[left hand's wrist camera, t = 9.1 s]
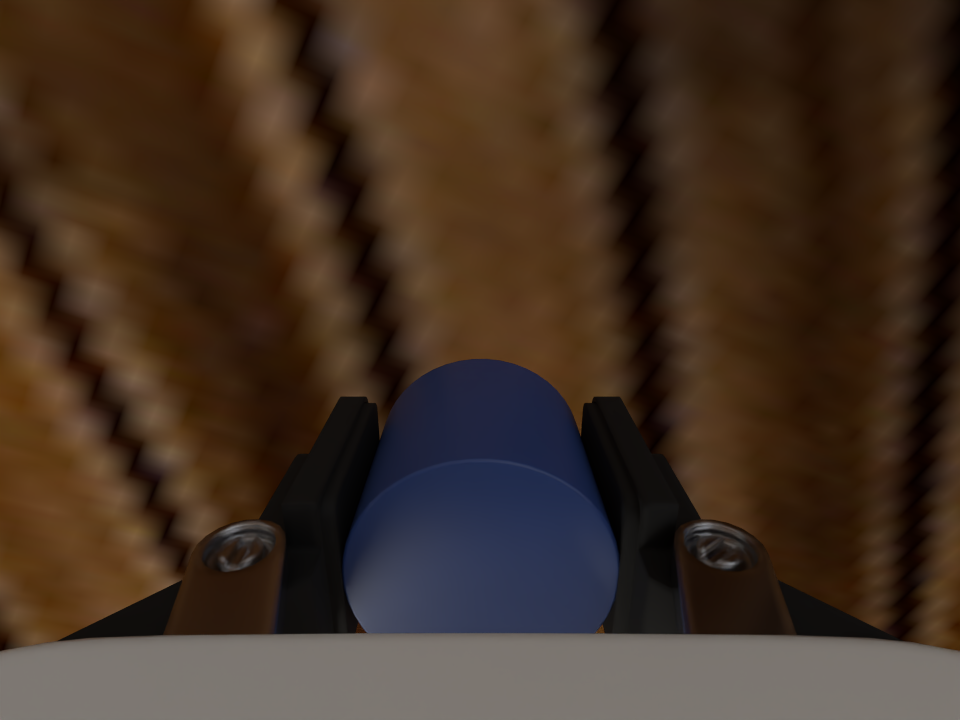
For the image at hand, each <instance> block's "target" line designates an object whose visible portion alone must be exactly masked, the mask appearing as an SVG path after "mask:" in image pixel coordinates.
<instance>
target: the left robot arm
mask: <svg viewBox="0 0 960 720" xmlns="http://www.w3.org/2000/svg"><path fill="white" fill-rule="evenodd" d="M581 439H582V442H583V445H584V448H585V451H586V454H587V457H588V460H589V463H590V465H591V468H592V471H593V474H594V477H595V480H596V483H597V486H598V489H599V492H600V495H601V498H602V501H603V504H604V506H605V509H606V512H607V515H608V518H609V521H610V524H611V527H612V530H613V533H614V536H615V539H616V542H617V546H618V550H619V555H620V565H619V575H618V584H617V592H616V598H615V601H614V603H613V605H612V608H611V610H610V612H609V614H608V616H607V617H606V619H605V620H604V622H603V627H604V631H605V634H584V633H365V634H355V632H356V628H357V624H358V620H357V619H356V617H355V616H354V614H353V611H352V609H351V607H350V605H349V603H348V600H347V597H346V593H345V590H344V585H343V577H342V557H343V552H344V547H345V543H346V540H347V537H348V534H349V531H350V528H351V525H352V522H353V519H354V516H355V513H356V510H357V507H358V504H359V501H360V498H361V495H362V492H363V489H364V486H365V483H366V480H367V477H368V474H369V471H370V468H371V465H372V462H373V459H374V456H375V453H376V450H377V447H378V444H379V441H380V439H379V426H378V412H377V405H376V403H368V399H367V397H340V398H339V400H338V402H337V404H336V406H335V407H334V409H333V411H332V413H331V415H330V417H329V418H328V420H327V422H326V424H325V426H324V428H323V429H322V431H321V433H320V435H319V437H318V439H317V440H316V442H315V444H314V446H313V448H312V449H311V451H310V453H309V454H298V455H297V456H296V457H295V459H294V460H293V462H292V464H291V466H290V467H289V469H288V471H287V472H286V474H285V476H284V477H283V479H282V481H281V483H280V484H279V486H278V488H277V489H276V491H275V493H274V495H273V496H272V498H271V500H270V501H269V503H268V505H267V507H266V508H265V510H264V512H263V513H262V515H261V517H260V519H255V520H243V521H239V522H234V523H231V524H228V525H226V526H223V527H221V528H218V529H217V530H215V531H214V532H212V533H210V534H209V535H207V536H206V537H205V538H204V539H203V540H202V541H200V542H199V543H198V544H197V546H196V548H195V549H194V551H193V553H192V555H191V557H190V560H189V563H188V566H187V569H186V572H185V574H184V577H183V580H182V581H179V582H177V583H175V584H173V585H171V586H169V587H167V588H165V589H163V590H161V591H159V592H157V593H155V594H153V595H151V596H149V597H147V598H145V599H143V600H140V601H138V602H136V603H134V604H132V605H130V606H128V607H126V608H124V609H122V610H120V611H118V612H116V613H114V614H112V615H110V616H108V617H106V618H104V619H102V620H99V621H97V622H95V623H93V624H91V625H89V626H87V627H85V628H83V629H81V630H79V631H77V632H75V633H73V634H71V635H69V636H67V637H65V638H63V639H60V640H58V641H56V642H47V643H42V644H36V645H31V646H25V647H20V648H15V649H9V650H4V651H0V720H960V651H956V650H951V649H945V648H940V647H935V646H929V645H924V644H918V643H913V642H904V641H902V640H900V639H898V638H896V637H894V636H892V635H889V634H887V633H885V632H883V631H881V630H879V629H877V628H875V627H873V626H871V625H869V624H867V623H865V622H863V621H861V620H859V619H857V618H855V617H853V616H851V615H848V614H846V613H844V612H842V611H840V610H838V609H836V608H834V607H832V606H830V605H828V604H826V603H824V602H822V601H820V600H818V599H816V598H814V597H812V596H810V595H807V594H805V593H803V592H801V591H799V590H797V589H795V588H793V587H791V586H789V585H787V584H785V583H783V582H781V581H779V580H777V577H776V574H775V572H774V569H773V566H772V563H771V560H770V557H769V555H768V553H767V551H766V549H765V548H764V546H763V544H762V543H761V542H760V541H758V540H757V539H756V538H755V537H754V536H753V535H751V534H750V533H748V532H746V531H745V530H743V529H742V528H739V527H737V526H734V525H732V524H729V523H726V522H721V521H717V520H705V519H701V518H700V516H699V515H698V513H697V511H696V509H695V508H694V506H693V504H692V503H691V501H690V499H689V497H688V496H687V494H686V492H685V491H684V489H683V487H682V485H681V484H680V482H679V480H678V479H677V477H676V475H675V474H674V472H673V470H672V468H671V467H670V465H669V463H668V462H667V460H666V458H665V457H664V456H663V455H662V454H651V453H650V451H649V449H648V447H647V445H646V443H645V442H644V440H643V438H642V436H641V434H640V432H639V431H638V429H637V427H636V425H635V423H634V421H633V420H632V418H631V416H630V414H629V412H628V410H627V409H626V407H625V405H624V403H623V401H622V400H621V398H620V397H594V398H593V400H592V403H585V404H584V407H583V417H582V430H581Z"/></svg>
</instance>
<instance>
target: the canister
mask: <svg viewBox="0 0 960 720" xmlns="http://www.w3.org/2000/svg"><path fill="white" fill-rule="evenodd" d="M619 565H620V555H619V550H618V546H617V542H616V539H615V536H614V533H613V530H612V527H611V524H610V521H609V518H608V515H607V512H606V509H605V506H604V504H603V501H602V498H601V495H600V492H599V489H598V486H597V483H596V480H595V477H594V474H593V471H592V468H591V465H590V463H589V460H588V457H587V454H586V451H585V448H584V445H583V442H582V439H581V436H580V433H579V430H578V427H577V425H576V422H575V419H574V417H573V414H572V412H571V410H570V408H569V406H568V405H567V403H566V401H565V400H564V399H563V397H562V396H561V395H560V394H559V392H558V391H557V390H556V389H555V388H554V387H553V386H552V385H551V384H549V383H548V382H547V381H546V380H544V379H543V378H541V377H540V376H539V375H537V374H535V373H533V372H532V371H530V370H528V369H526V368H523V367H521V366H518V365H515V364H512V363H508V362H504V361H499V360H490V359H471V360H463V361H457V362H454V363H450V364H446V365H444V366H441V367H439V368H436V369H434V370H432V371H430V372H428V373H426V374H425V375H423V376H421V377H420V378H419V379H417V380H416V381H415V382H413V383H412V384H411V385H410V386H409V387H408V388H407V389H406V390H405V391H404V392H403V393H402V394H401V396H400V397H399V398H398V400H397V401H396V402H395V404H394V406H393V407H392V409H391V411H390V413H389V416H388V418H387V421H386V424H385V427H384V430H383V432H382V435H381V438H380V441H379V444H378V447H377V450H376V453H375V456H374V459H373V462H372V465H371V468H370V471H369V474H368V477H367V480H366V483H365V486H364V489H363V492H362V495H361V498H360V501H359V504H358V507H357V510H356V513H355V516H354V519H353V522H352V525H351V528H350V531H349V534H348V537H347V540H346V543H345V547H344V552H343V557H342V577H343V585H344V590H345V593H346V597H347V600H348V603H349V605H350V607H351V609H352V611H353V614H354V616H355V617H356V619H357V620H358V622H359V623H360V625H361V626H362V628H363V629H364V630H365V631H366V632H367V633H584V634H595V632H596V631H597V630H598V629H599V628H600V626H601V625H602V624H603V622H604V620H605V619H606V617H607V616H608V614H609V612H610V610H611V608H612V605H613V603H614V601H615V598H616V592H617V584H618V575H619Z"/></svg>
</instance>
